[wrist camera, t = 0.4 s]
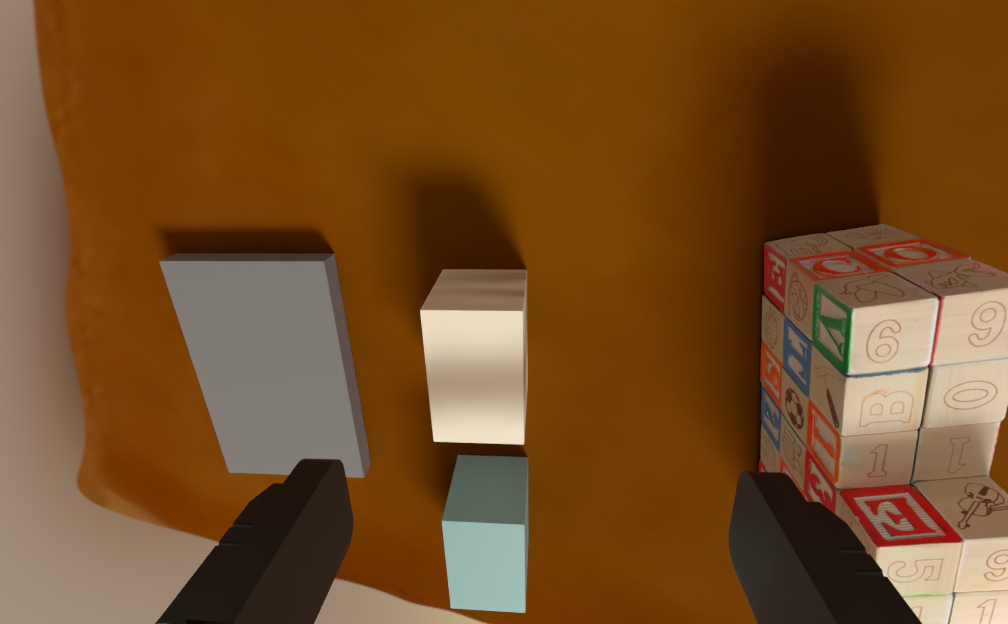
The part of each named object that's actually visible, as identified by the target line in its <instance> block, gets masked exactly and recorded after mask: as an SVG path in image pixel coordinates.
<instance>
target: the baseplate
mask: <svg viewBox="0 0 1008 624" xmlns="http://www.w3.org/2000/svg"><path fill="white" fill-rule="evenodd" d="M159 262H160V265H161V268H162V271H163V274H164V277H165V280H166V283H167V286H168V289H169V292H170V295H171V298H172V301H173V304H174V307H175V310H176V313H177V317H178V320H179V323H180V326H181V329H182V332H183V335H184V338H185V341H186V344H187V347H188V350H189V353H190V356H191V359H192V362H193V365H194V368H195V371H196V374H197V377H198V380H199V383H200V386H201V389H202V392H203V395H204V398H205V401H206V404H207V407H208V410H209V413H210V416H211V419H212V422H213V425H214V428H215V431H216V434H217V437H218V440H219V443H220V446H221V449H222V452H223V455H224V458H225V461H226V465H227V468H228V471H229V472H231V473H256V474H282V475H290V473H291V472H292V470H293V469H294V468H295V466H296V465H297V464H298V462H299V461H300V460H302V459H305V458H308V459H339V460H341V461H342V463H343V465H344V469H345V475H346V477H358V478H364V477H365V475H366V472H367V470H368V468H369V466H370V464H371V461H370V455H369V449H368V443H367V438H366V432H365V426H364V420H363V415H362V409H361V403H360V398H359V392H358V386H357V380H356V375H355V369H354V363H353V358H352V352H351V346H350V340H349V335H348V329H347V323H346V317H345V312H344V306H343V300H342V295H341V289H340V283H339V277H338V272H337V266H336V260H335V254H334V253H176V254H174V255H172V256H169V257H167V258H165V259H163V260H160V261H159Z"/></svg>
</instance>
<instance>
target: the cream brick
mask: <svg viewBox="0 0 1008 624" xmlns="http://www.w3.org/2000/svg"><path fill="white" fill-rule="evenodd" d="M420 315H421V324H422V334H423V344H424V353H425V363H426V372H427V382H428V391H429V401H430V410H431V420H432V430H433V439H434V442H460V443H491V444H523V445H524V436H525V420H526V403H527V387H528V366H527V270H485V269H443V270H442V272H441V274H440V276H439V277H438V279H437V281H436V283H435V284H434V286H433V288H432V290H431V292H430V293H429V295H428V297H427V299H426V300H425V302H424V304H423V306H422V307H421V309H420Z"/></svg>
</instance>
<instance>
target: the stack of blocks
mask: <svg viewBox="0 0 1008 624" xmlns="http://www.w3.org/2000/svg"><path fill="white" fill-rule="evenodd" d="M970 258H971V257H970V256H968V255H966V254H963V253H961V252H958V251H956V250H953V249H951V248H948V247H946V246H943V245H940V244H938V243H935V242H932V241H930V240H927V239H923V238H922V239H921V237H918V236H916V235H913V234H910V233H907V232H905V231H902V230H899V229H897V228H894V227H891V226H889V225H886V224H880V225H874V226H867V227H861V228H855V229H848V230H841V231H834V232H828V233H818V234H811V235H804V236H798V237H792V238H786V239H780V240H775V241H771V242H766V243H764V292H765V294H764V295H763V296H762V342H761V376H760V380H761V383H762V388H761V396H762V397H761V422H762V424H761V459H760V461H759V472H782V473H786V474H787V475H789V476H790V478H791V479H792V480H793V482H794V483H795V485H796V486H797V488H798V489H799V491H800V492H801V493H802V495H803V496H804V498H805V499H806V501H808V502H820V503H821V504H823V505H824V506H825V507H827V508H828V509H829V510H830V511H832V512H833V513H834V514H836V515H837V516H838V517H839V518H841V519H842V520H843V521H844V522H846V523H847V524H848V525H849V527H850V528H851V529H852V531H853V532H854V533H855V535H856V536H857V537H858V539H859V540H860V541H861V543H862V544H863V545H864V547H865V548H866V552H867V554H870V555H871V556H872V557H873V559H874V560H875V561H876V563H877V564H878V565H879V567H880V568H881V569H882V571H883V575H884V577H888V579H889V580H890V581H891V583H892V584H893V585H894V587H895V588H896V589H897V591H898V592H899V593H900V595H901V596H902V597H903V599H904V600H905V601H906V603H907V604H908V605H909V607H910V608H911V609H912V611H913V612H914V613H915V615H916V616H917V617H918V619H919V620H920V621H921V623H922V624H1008V493H1006V492H1005V491H1004V490H1003V489H1002V488H1001V487H1000V486H999V485H998V484H997V483H996V482H994V481H993V480H992V479H991V478H990V477H989V472H990V469H991V464H992V460H993V455H994V451H995V447H996V442H997V438H998V434H999V430H1000V425H1001V421H1002V420H1003V419H1004V417H1005V414H1006V410H1007V406H1008V273H1005V272H1003V271H1000V270H998V269H995V268H993V267H991V266H988V265H986V264H983V263H981V262H978V261H976V260H973V259H970Z"/></svg>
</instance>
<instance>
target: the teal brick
mask: <svg viewBox="0 0 1008 624" xmlns="http://www.w3.org/2000/svg"><path fill="white" fill-rule="evenodd" d="M442 527H443V537H444V547H445V556H446V566H447V575H448V585H449V594H450V604H451V608H455V609H472V610H488V611H504V612H520V613H525V608H526V584H527V560H528V457H506V456H478V455H458V457H457V461H456V465H455V469H454V473H453V477H452V481H451V485H450V489H449V493H448V498H447V502H446V506H445V510H444V514H443V518H442Z"/></svg>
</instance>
